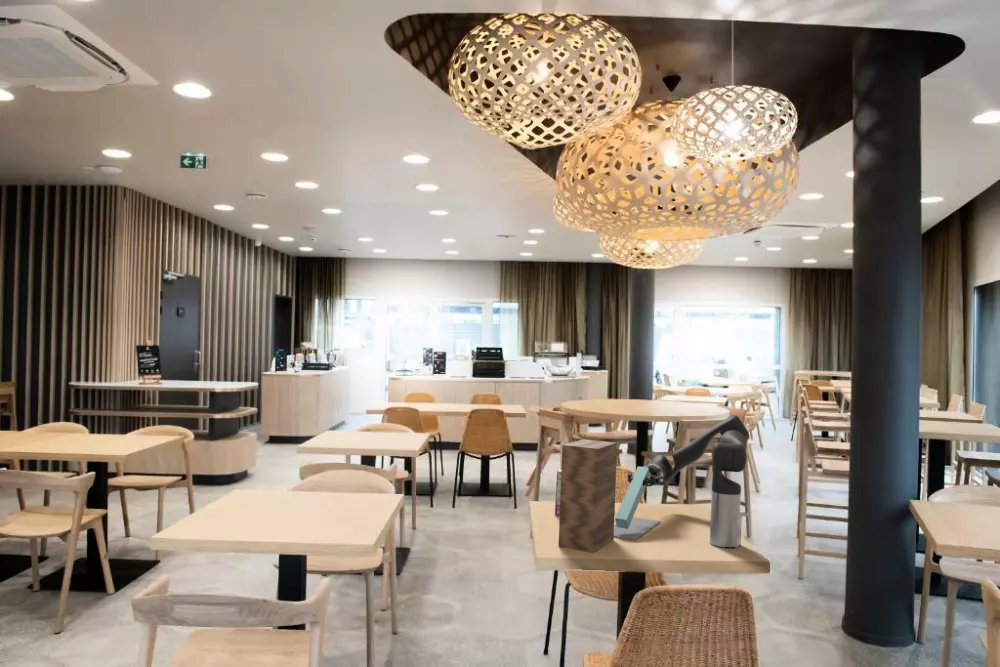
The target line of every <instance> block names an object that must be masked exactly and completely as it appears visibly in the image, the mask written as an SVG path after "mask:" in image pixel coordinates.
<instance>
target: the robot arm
mask: <svg viewBox="0 0 1000 667" xmlns="http://www.w3.org/2000/svg"><path fill="white" fill-rule="evenodd" d="M718 434H720V436H721V437H720V439H719V442H715V443H714V444H713V446H712V451H711V468H712V470H711V471H712V474H711V475H712V478H711V496H710V497H711V499H710V522H709V523H710V525H709V526H710V527H709V530H710V531H709V544H711V545H713V546H715V547H719V548H725V547H735V548H734V549H737V548H738V547H740V546H741V544H742V543H741V542H742V522H743V521H742V519H743V518H742V515H741V500H742V497H741V496H742V486H741V484H740V483H738V482H736V481H733V480H731V479H729V478H728V477H727V476H725V475H724V474H723V472H729V473H730V472H731V473H742V472H743V471H744V470H745V468H746V465H747V461H748V460H747V459H748V458H747V457H748V456H747V445H748V444H747V442H748V441H749V439H750V433H749V431H748V429H747V428H746V425H744V422H742V420H741V418H740V417H739V416H738V415H731V416H728V417H726V418H725V419H723V420H721V421H720V422H718V423H716V424H715V425H714V426H711V428H710V429H708V430H706V431H705V432H704V433H702V434H700V435H699V436H698V437H697V438H695V439H694V440H693V441H691V442H689V443H688V444H686V445H684V446H682V447H680V448H679V449H677V450H675V451H673V453H672V454H671V455H672V459H673V462H674V465H673V466H672V465H671V463H670V461H669V459H668V458H667V456H665V455H663V454H658V455H656V456H654V457H653V458H652V459H651V460H650V462H649V464H647V465H645V466H643V467H648V468H649V475H648V477H647V478H645V479H643V486H645V485H646V487H652V486H656V485H661V484H664V483H668V482H670V481H671V480H672V479H673V478H674V477H675V476H676V475H677V474H679V472H680V471H681V470H683V469H684V468H685V467H687V466H690V464H693V463H695V462H697V461H698V460H699V459H700V458H701V457H702V456H703V454H704V453H705V452H706V449H707V448H708V446H709V444H710V442H711V441H712V439H714V437H715V436H717V435H718ZM633 476H634V474H633V473H632V472H630V471H629V472H627V482H629V483H631V481H632V479H633ZM739 545H740V546H739ZM736 547H737V548H736Z"/></svg>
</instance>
